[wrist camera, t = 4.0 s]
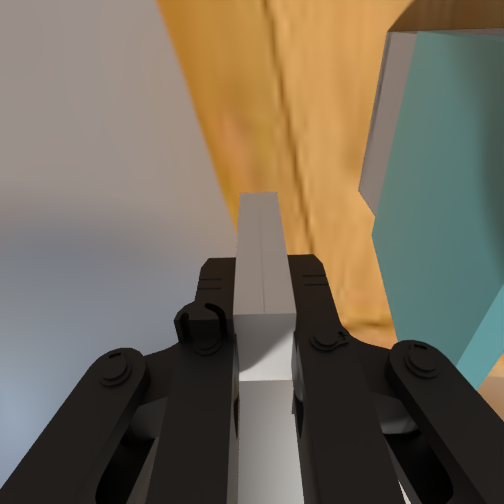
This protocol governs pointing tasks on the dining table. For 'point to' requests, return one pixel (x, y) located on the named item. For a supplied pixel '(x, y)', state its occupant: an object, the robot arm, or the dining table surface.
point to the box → (392, 107)
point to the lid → (448, 202)
